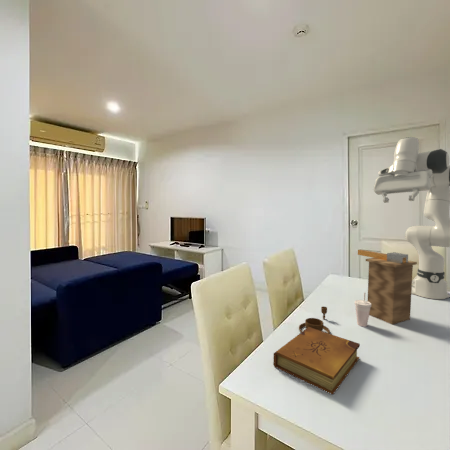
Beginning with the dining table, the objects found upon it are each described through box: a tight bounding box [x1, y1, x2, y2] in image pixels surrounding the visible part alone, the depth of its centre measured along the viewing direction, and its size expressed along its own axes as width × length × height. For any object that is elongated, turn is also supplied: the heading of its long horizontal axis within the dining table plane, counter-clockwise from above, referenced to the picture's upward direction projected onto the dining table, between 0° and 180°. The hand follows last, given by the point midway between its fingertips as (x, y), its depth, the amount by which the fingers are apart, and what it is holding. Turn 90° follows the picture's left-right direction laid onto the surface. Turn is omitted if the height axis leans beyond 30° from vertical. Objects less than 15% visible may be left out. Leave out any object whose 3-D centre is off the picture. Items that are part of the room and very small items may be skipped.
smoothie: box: [354, 291, 371, 328], centre depth 112 cm, size 6×6×14 cm
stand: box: [365, 257, 418, 326], centre depth 119 cm, size 14×14×26 cm
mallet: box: [357, 249, 409, 264], centre depth 123 cm, size 22×5×4 cm, turn 24°
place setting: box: [298, 306, 331, 334], centre depth 108 cm, size 18×20×6 cm
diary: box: [273, 327, 361, 395], centre depth 86 cm, size 23×19×6 cm
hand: (398, 201), depth 109 cm, fingers open, 8 cm apart
